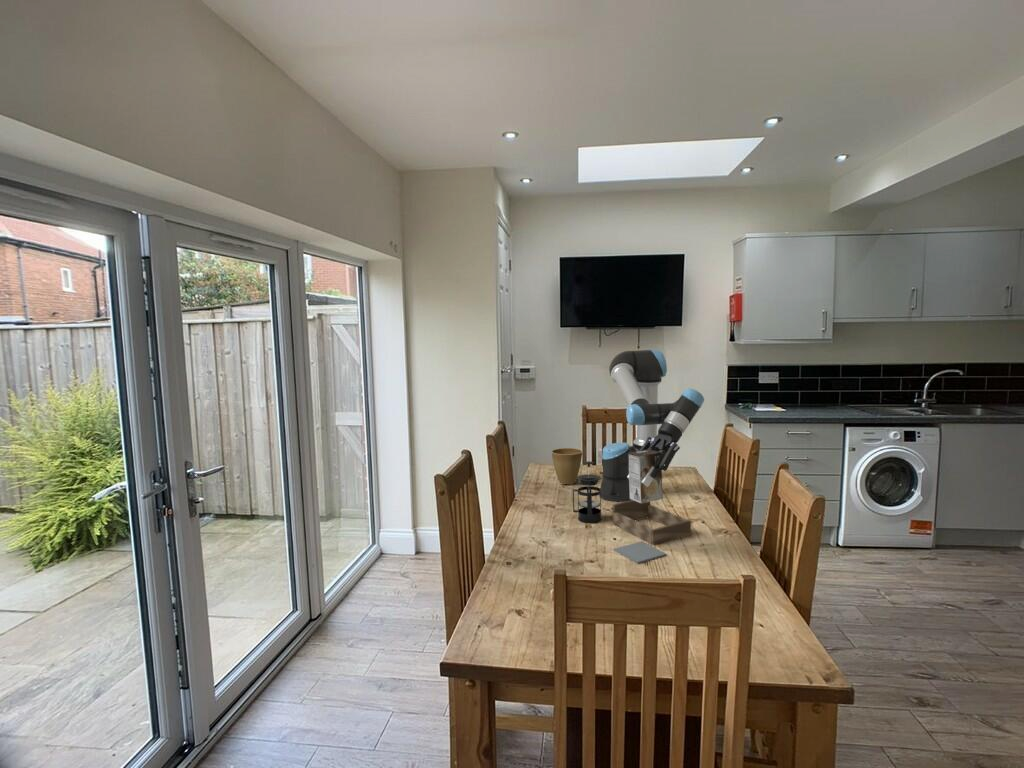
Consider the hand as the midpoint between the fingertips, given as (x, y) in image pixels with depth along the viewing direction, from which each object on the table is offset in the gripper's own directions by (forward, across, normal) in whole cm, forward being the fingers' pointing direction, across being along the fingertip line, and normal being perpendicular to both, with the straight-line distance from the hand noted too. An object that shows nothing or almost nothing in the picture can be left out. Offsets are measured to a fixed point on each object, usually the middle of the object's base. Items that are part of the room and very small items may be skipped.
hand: (637, 482), depth 176 cm
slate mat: (+17, -2, -16) cm, 24 cm away
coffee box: (+2, 0, -7) cm, 8 cm away
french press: (+14, +33, -19) cm, 41 cm away
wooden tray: (+5, +12, -28) cm, 31 cm away
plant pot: (-1, +79, -33) cm, 86 cm away
